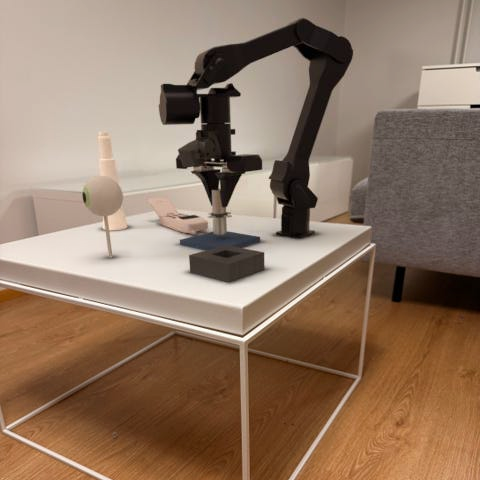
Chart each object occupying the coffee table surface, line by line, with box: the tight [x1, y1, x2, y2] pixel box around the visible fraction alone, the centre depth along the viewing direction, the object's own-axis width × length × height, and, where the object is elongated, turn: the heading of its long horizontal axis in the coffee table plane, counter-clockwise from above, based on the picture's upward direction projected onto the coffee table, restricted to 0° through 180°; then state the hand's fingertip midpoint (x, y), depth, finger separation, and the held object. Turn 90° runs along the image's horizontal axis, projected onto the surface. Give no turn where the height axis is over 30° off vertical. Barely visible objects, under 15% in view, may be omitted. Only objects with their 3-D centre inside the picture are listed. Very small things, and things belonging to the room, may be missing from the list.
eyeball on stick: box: [81, 175, 124, 259], centre depth 87 cm, size 7×7×15 cm
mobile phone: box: [146, 196, 209, 236], centre depth 114 cm, size 6×6×25 cm
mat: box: [179, 230, 261, 251], centre depth 98 cm, size 12×12×1 cm
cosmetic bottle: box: [97, 131, 128, 231], centre depth 111 cm, size 6×6×22 cm
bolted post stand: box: [207, 188, 233, 235], centre depth 96 cm, size 6×6×9 cm
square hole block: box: [188, 245, 265, 283], centre depth 79 cm, size 9×9×3 cm
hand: (219, 206), depth 95 cm, fingers closed on bolted post stand, 3 cm apart
